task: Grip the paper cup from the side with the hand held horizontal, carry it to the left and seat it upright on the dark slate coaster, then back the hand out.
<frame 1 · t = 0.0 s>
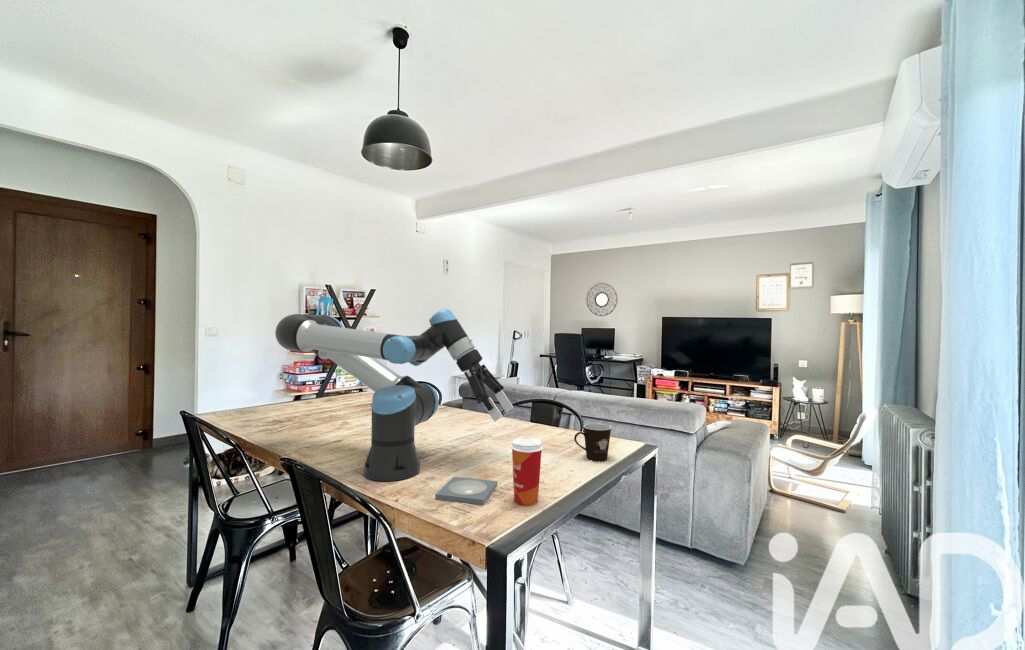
hand: (504, 414, 123), 15 cm above the table, tool tilted 35°, fingers open, 13 cm apart
coffee mug: (591, 458, 132), on the table
paper cup: (525, 501, 99), on the table
coaster: (467, 492, 103), on the table
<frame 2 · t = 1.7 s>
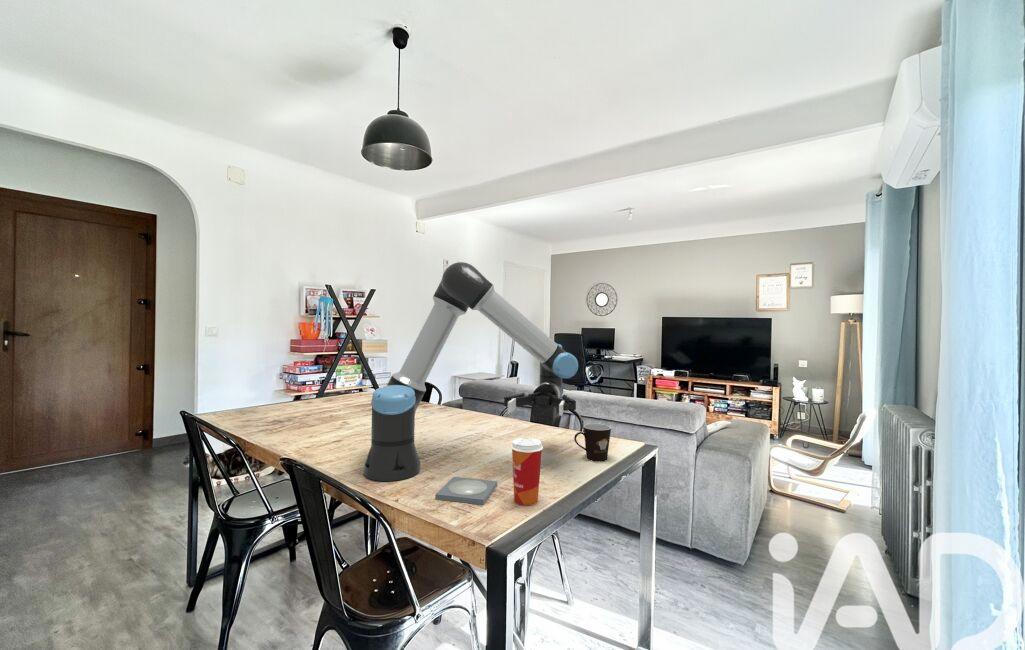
hand: (534, 408, 108), 20 cm above the table, tool horizontal, fingers open, 13 cm apart
nothing on the table moved.
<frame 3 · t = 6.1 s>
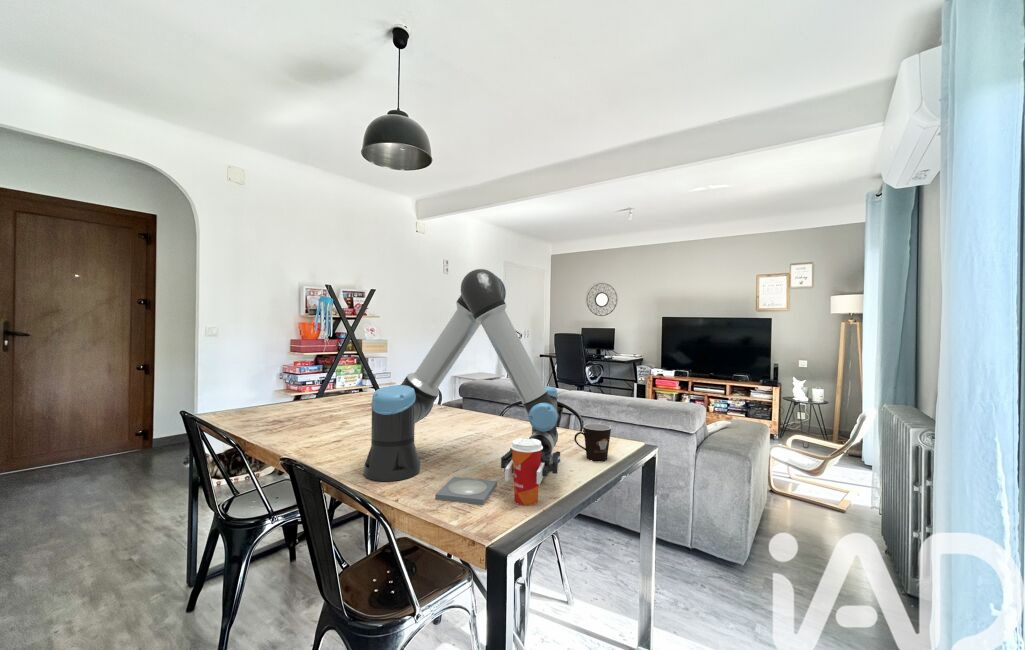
hand: (522, 476, 94), 8 cm above the table, tool horizontal, fingers closed on paper cup, 7 cm apart
paper cup: (526, 501, 99), on the table, touching gripper
everything else where it was.
when the fingers open (10 cm above the table, at t = 10.4 s): paper cup moves 3 cm, resting on coaster.
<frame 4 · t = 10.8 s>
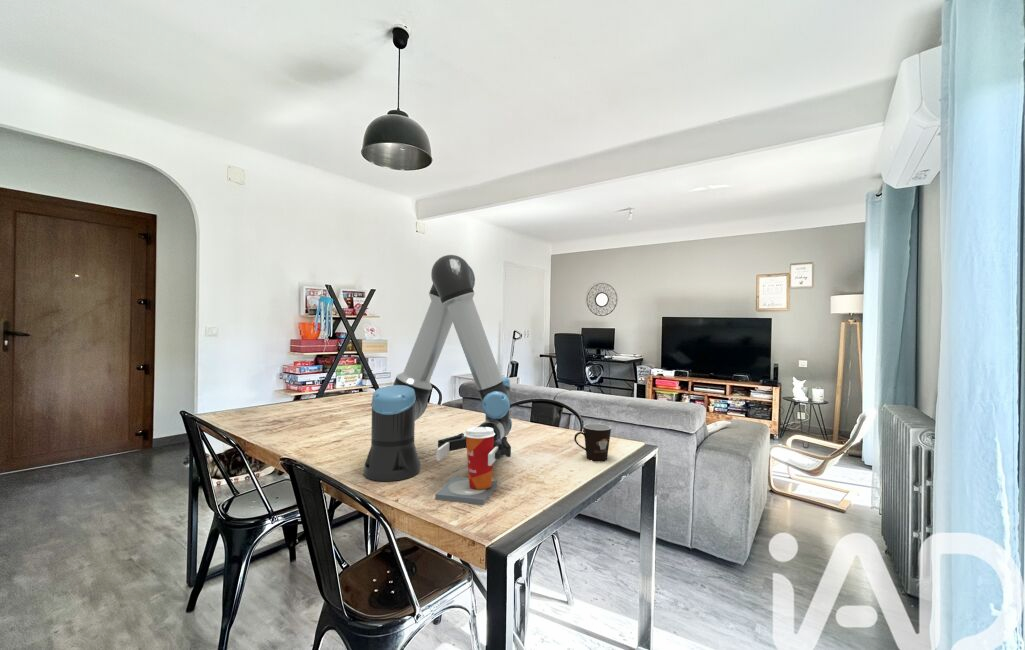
hand: (463, 457, 100), 10 cm above the table, tool horizontal, fingers open, 12 cm apart
paper cup: (480, 486, 104), point 1 cm above the table, touching coaster, gripper
everything else where it was.
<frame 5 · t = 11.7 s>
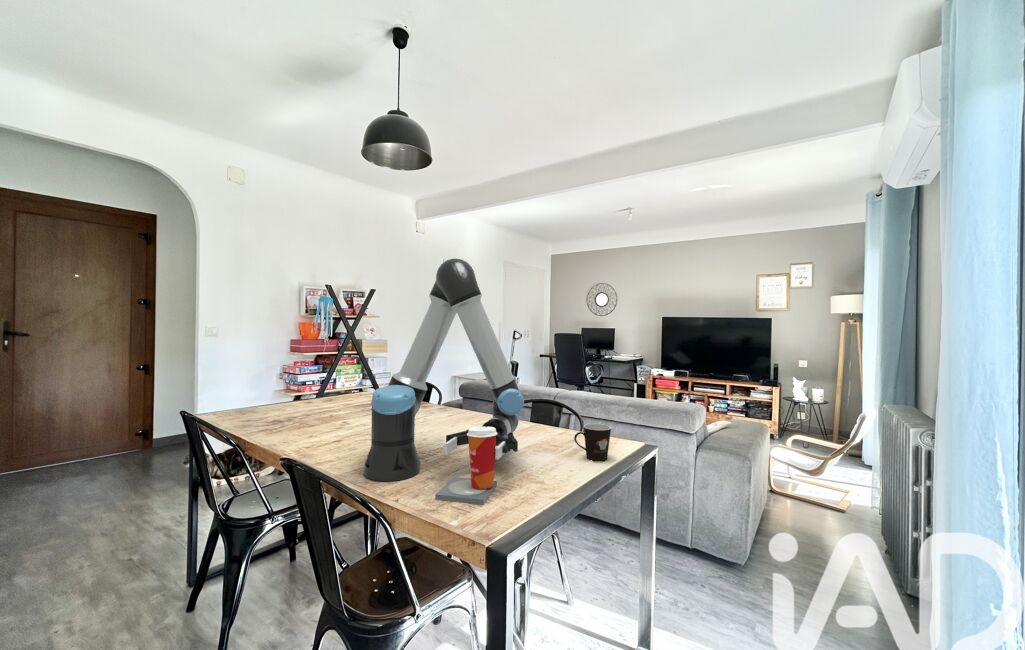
hand: (471, 451, 104), 10 cm above the table, tool horizontal, fingers open, 13 cm apart
paper cup: (482, 486, 104), point 1 cm above the table, touching coaster
everything else where it was.
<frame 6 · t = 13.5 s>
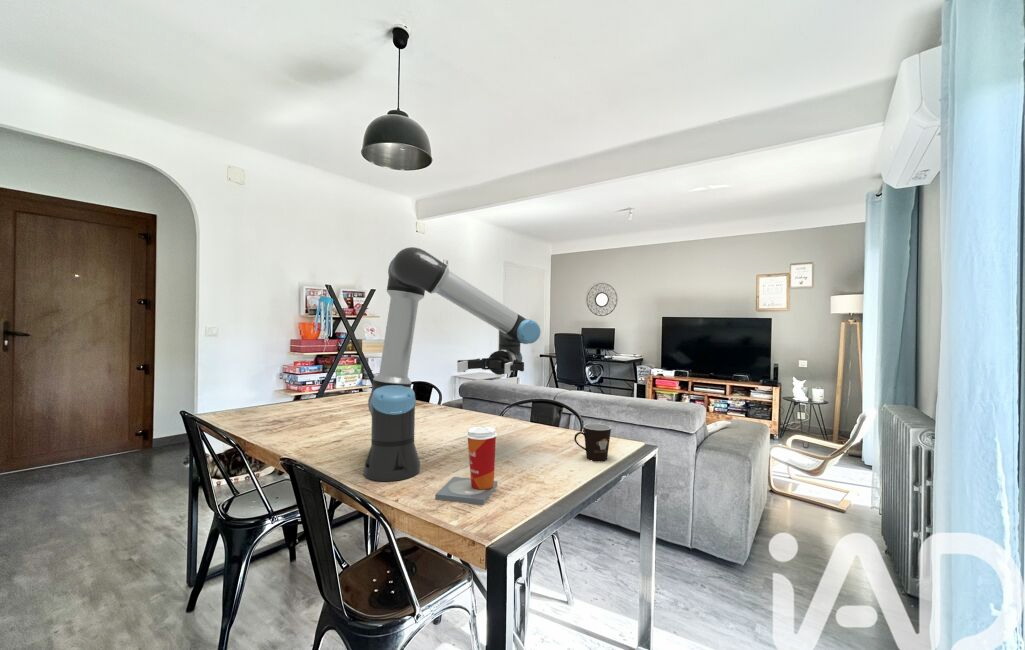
hand: (481, 368, 114), 30 cm above the table, tool horizontal, fingers open, 13 cm apart
nothing on the table moved.
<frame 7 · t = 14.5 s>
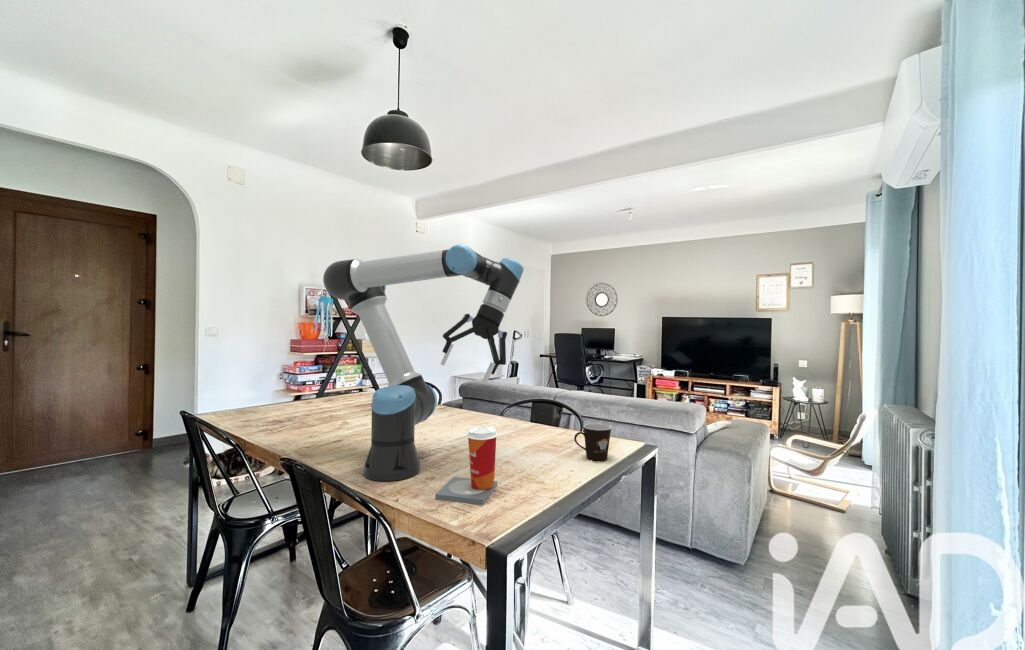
hand: (463, 374, 121), 27 cm above the table, tool tilted 25°, fingers open, 13 cm apart
nothing on the table moved.
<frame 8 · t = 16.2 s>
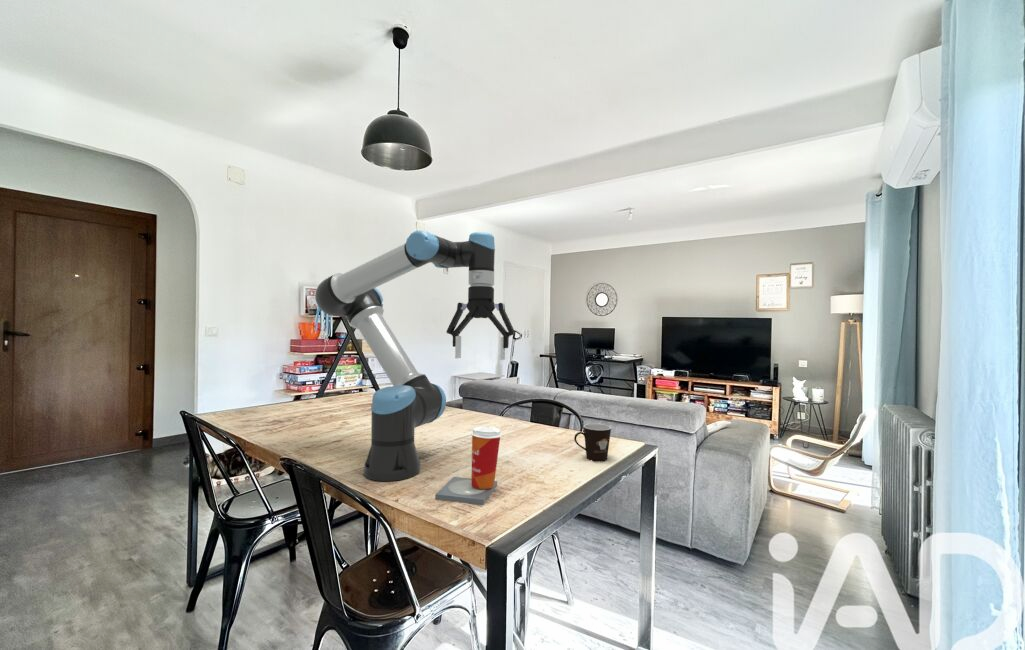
hand: (480, 359, 122), 32 cm above the table, tool pointing down, fingers open, 13 cm apart
at the end: paper cup 3.7 cm from the coaster (horizontally); paper cup tilted 1°; the gripper is holding nothing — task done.
